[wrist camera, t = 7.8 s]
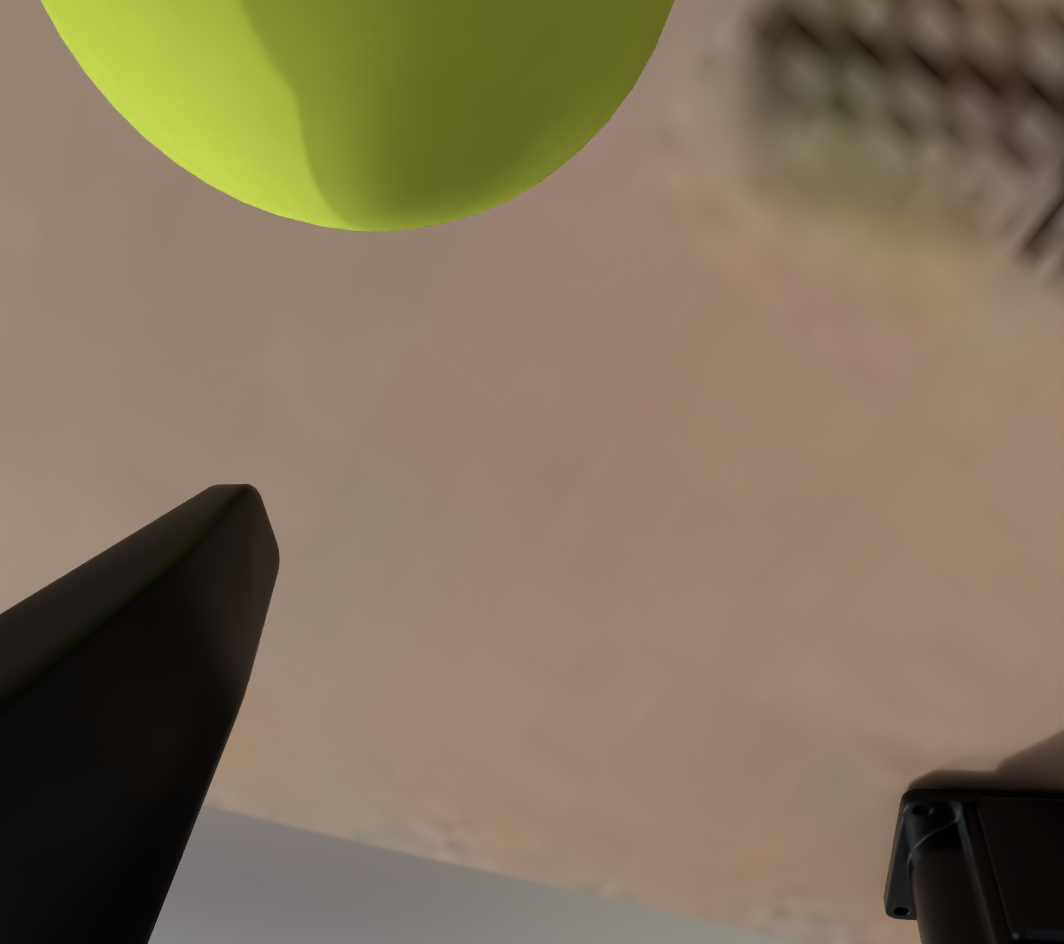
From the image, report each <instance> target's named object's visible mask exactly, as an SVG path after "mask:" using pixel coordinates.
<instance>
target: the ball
mask: <svg viewBox="0 0 1064 944" xmlns="http://www.w3.org/2000/svg"><path fill="white" fill-rule="evenodd" d="M41 2H42V4H43V5H44V7H45V9H46V11H47V13H48V14H49V16H50V18H51V20H52V22H53V24H54V25H55V27H56V29H57V31H58V33H59V34H60V36H61V38H62V39H63V41H64V42H65V43H66V45H67V46H68V48H69V49H70V51H71V52H72V54H73V55H74V57H75V58H76V60H77V61H78V63H79V64H80V65H81V67H82V68H83V70H84V71H85V73H86V74H87V75H88V76H89V78H90V79H91V80H92V81H93V83H94V84H95V85H96V86H97V87H98V89H99V90H100V91H101V92H102V93H103V95H104V96H105V97H106V98H107V99H108V101H109V102H110V103H111V104H112V105H113V107H114V108H115V109H116V110H117V111H118V112H119V113H120V114H121V115H122V116H123V117H124V118H125V119H126V120H127V121H128V122H129V123H130V124H131V125H132V126H133V127H134V128H136V129H137V130H138V131H139V132H140V133H141V134H142V135H143V136H144V137H145V138H146V139H147V140H148V141H150V142H151V143H152V144H153V145H155V146H156V147H157V148H158V149H159V150H161V151H162V152H163V153H164V154H166V155H167V156H168V157H169V158H171V159H172V160H173V161H174V162H175V163H177V164H178V165H180V166H181V167H183V168H185V169H186V170H188V171H189V172H191V173H192V174H194V175H195V176H197V177H198V178H200V179H201V180H203V181H204V182H206V183H207V184H209V185H211V186H213V187H215V188H217V189H219V190H221V191H223V192H225V193H226V194H228V195H230V196H232V197H234V198H236V199H238V200H240V201H242V202H244V203H247V204H250V205H252V206H255V207H258V208H260V209H263V210H265V211H268V212H271V213H273V214H276V215H279V216H283V217H287V218H291V219H295V220H299V221H303V222H307V223H311V224H315V225H319V226H323V227H331V228H339V229H347V230H354V231H399V230H406V229H414V228H422V227H429V226H434V225H438V224H442V223H446V222H450V221H453V220H457V219H461V218H464V217H468V216H472V215H476V214H478V213H480V212H483V211H485V210H487V209H490V208H492V207H495V206H497V205H499V204H502V203H504V202H506V201H509V200H511V199H512V198H514V197H516V196H517V195H519V194H521V193H522V192H524V191H526V190H527V189H529V188H531V187H532V186H534V185H536V184H537V183H539V182H541V181H542V180H543V179H545V178H546V177H547V176H548V175H550V174H551V173H552V172H554V171H555V170H556V169H557V168H559V167H560V166H561V165H562V164H564V163H565V162H566V161H567V160H569V159H570V158H571V157H572V156H574V155H575V154H576V153H577V152H579V151H580V150H581V149H582V148H583V147H584V146H585V145H586V144H587V143H588V142H589V140H590V139H591V138H592V137H593V136H594V135H595V134H596V133H597V132H598V131H599V130H600V129H601V128H602V127H603V126H604V125H605V124H606V123H607V122H608V121H609V119H610V118H611V117H612V115H613V114H614V112H615V111H616V110H617V108H618V107H619V106H620V104H621V103H622V102H623V100H624V99H625V98H626V96H627V95H628V94H629V92H630V91H631V90H632V88H633V87H634V85H635V83H636V81H637V79H638V78H639V76H640V74H641V72H642V71H643V69H644V67H645V65H646V63H647V62H648V60H649V58H650V56H651V55H652V53H653V51H654V49H655V47H656V44H657V42H658V39H659V37H660V35H661V32H662V30H663V27H664V25H665V22H666V20H667V17H668V15H669V13H670V10H671V8H672V5H673V3H674V0H41Z"/></svg>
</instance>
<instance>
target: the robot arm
mask: <svg viewBox="0 0 1064 944" xmlns="http://www.w3.org/2000/svg"><path fill="white" fill-rule="evenodd" d="M278 569H279V549H278V545H277V542H276V539H275V536H274V533H273V530H272V527H271V524H270V521H269V519H268V516H267V513H266V510H265V507H264V504H263V501H262V498H261V496H260V494H259V492H258V491H257V489H256V488H254V487H253V486H251V485H249V484H221V485H214V486H211V487H209V488H207V489H206V490H204V491H202V492H201V493H199V494H198V495H196V496H194V497H193V498H191V499H189V500H188V501H186V502H184V503H183V504H181V505H179V506H178V507H176V508H174V509H173V510H171V511H170V512H168V513H166V514H165V515H163V516H161V517H160V518H158V519H156V520H155V521H153V522H151V523H150V524H148V525H146V526H145V527H143V528H142V529H140V530H138V531H137V532H135V533H133V534H132V535H130V536H128V537H127V538H125V539H123V540H122V541H120V542H118V543H117V544H115V545H114V546H112V547H110V548H109V549H107V550H105V551H104V552H102V553H100V554H99V555H97V556H95V557H94V558H92V559H90V560H89V561H87V562H86V563H84V564H82V565H81V566H79V567H77V568H76V569H74V570H72V571H71V572H69V573H67V574H66V575H64V576H62V577H61V578H59V579H58V580H56V581H54V582H53V583H51V584H49V585H48V586H46V587H44V588H43V589H41V590H39V591H38V592H36V593H34V594H33V595H31V596H30V597H28V598H26V599H25V600H23V601H21V602H20V603H18V604H16V605H15V606H13V607H11V608H10V609H8V610H6V611H5V612H3V613H2V614H0V944H148V941H149V939H150V936H151V934H152V931H153V929H154V926H155V923H156V921H157V918H158V916H159V913H160V911H161V908H162V906H163V903H164V901H165V898H166V895H167V893H168V890H169V888H170V885H171V883H172V880H173V877H174V875H175V873H176V870H177V868H178V865H179V862H180V860H181V857H182V855H183V852H184V850H185V847H186V845H187V842H188V840H189V837H190V834H191V832H192V829H193V827H194V824H195V822H196V819H197V816H198V814H199V811H200V809H201V806H202V804H203V801H204V799H205V796H206V794H207V791H208V789H209V786H210V784H211V781H212V778H213V776H214V773H215V771H216V768H217V766H218V763H219V761H220V758H221V756H222V753H223V750H224V748H225V745H226V743H227V740H228V738H229V735H230V733H231V730H232V728H233V725H234V722H235V720H236V717H237V715H238V712H239V709H240V706H241V704H242V701H243V698H244V695H245V692H246V688H247V685H248V682H249V679H250V675H251V671H252V668H253V664H254V660H255V656H256V653H257V649H258V645H259V641H260V638H261V634H262V630H263V626H264V623H265V619H266V615H267V611H268V607H269V604H270V600H271V596H272V592H273V589H274V585H275V581H276V577H277V574H278ZM884 905H885V910H886V914H887V915H888V916H890V917H892V918H896V919H906V920H917V923H918V928H919V933H920V938H921V943H922V944H1064V793H1039V792H1009V791H978V790H948V789H913V790H910V791H907V792H906V793H905V794H903V796H902V798H901V803H900V808H899V814H898V820H897V825H896V831H895V837H894V842H893V848H892V853H891V859H890V865H889V870H888V876H887V882H886V887H885V893H884Z"/></svg>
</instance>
